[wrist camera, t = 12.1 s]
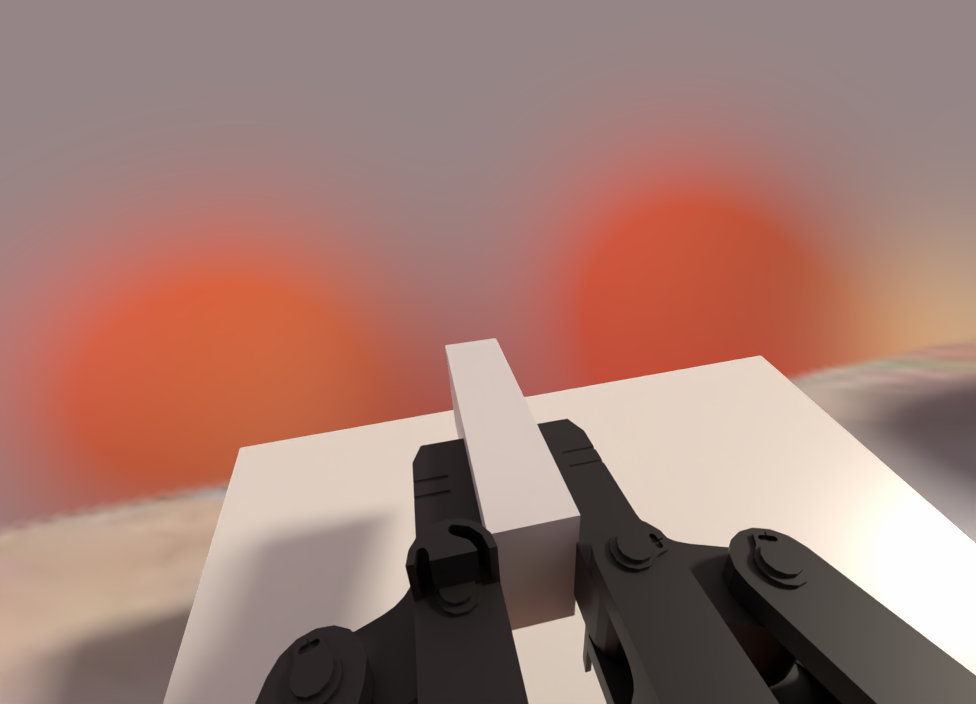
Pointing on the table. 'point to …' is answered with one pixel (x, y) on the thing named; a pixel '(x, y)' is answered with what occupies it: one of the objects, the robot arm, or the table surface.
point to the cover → (641, 477)
